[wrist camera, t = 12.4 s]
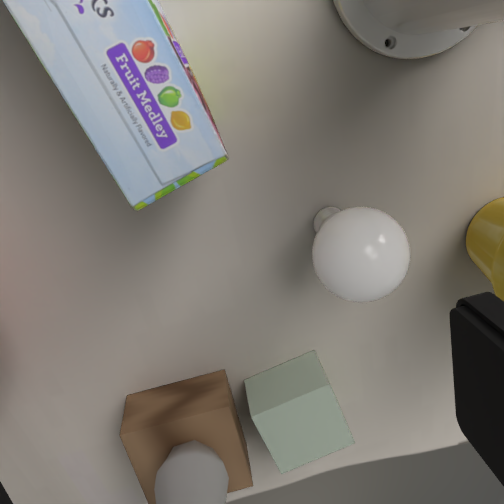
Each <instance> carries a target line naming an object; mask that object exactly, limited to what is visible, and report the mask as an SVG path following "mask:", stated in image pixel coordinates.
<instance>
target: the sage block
mask: <svg viewBox="0 0 504 504" xmlns="http://www.w3.org/2000/svg"><path fill="white" fill-rule="evenodd" d="M244 382H245V387H246V393H247V398H248V404H249V409H250V414H251V418H252V420H253V422H254V424H255V426H256V427H257V429H258V431H259V433H260V435H261V437H262V439H263V441H264V442H265V444H266V446H267V448H268V450H269V452H270V454H271V456H272V457H273V459H274V461H275V463H276V465H277V467H278V469H279V471H280V472H281V474H283V473H285V472H288V471H290V470H293V469H295V468H297V467H300V466H302V465H304V464H307V463H309V462H312V461H314V460H316V459H319V458H321V457H323V456H326V455H328V454H330V453H333V452H335V451H338V450H340V449H342V448H345V447H347V446H349V445H352V444H354V443H355V441H354V439H353V437H352V434H351V432H350V430H349V427H348V425H347V423H346V420H345V418H344V416H343V413H342V411H341V409H340V406H339V404H338V402H337V399H336V397H335V395H334V392H333V390H332V388H331V385H330V383H329V381H328V379H327V377H326V374H325V372H324V370H323V368H322V366H321V364H320V361H319V359H318V357H317V355H316V353H315V351H314V350H313V351H311V352H308V353H306V354H304V355H301V356H299V357H297V358H294V359H292V360H290V361H287V362H285V363H283V364H280V365H278V366H276V367H273V368H271V369H269V370H266V371H264V372H262V373H259V374H257V375H255V376H252V377H250V378H248V379H245V380H244Z"/></svg>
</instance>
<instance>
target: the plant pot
mask: <svg viewBox="0 0 504 504" xmlns="http://www.w3.org/2000/svg"><path fill="white" fill-rule="evenodd" d="M466 248H467V252H468V254H469V256H470V258H471V259H472V261H473V262H474V263H475V264H476V265H477V266H478V268H479V269H480V270H481V271H482V272H483V273H484V275H485V276H486V277H487V278H488V279H489V280H490V282H491V283H492V285H493V289H494V292H495V295H496V296H497V297H498V298H500V299H501V300H502V301H504V197H502V198H499V199H496V200H493V201H492V202H490V203H488V204H487V205H485V206H484V207H483V208H482V209H480V210H479V211H478V213H477V214H476V215H475V216H474V218H473V219H472V221H471V223H470V225H469V227H468V230H467V235H466Z"/></svg>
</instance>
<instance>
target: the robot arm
mask: <svg viewBox="0 0 504 504" xmlns="http://www.w3.org/2000/svg"><path fill="white" fill-rule="evenodd" d="M333 2H334V5H335V7H336V9H337V11H338V13H339V15H340V17H341V20H342V21H343V23H344V24H345V25H346V27H347V28H348V29H349V31H350V32H351V34H352V35H353V36H354V37H356V38H357V39H358V40H359V41H360V42H361V43H362V44H363V45H364V46H366V47H368V48H370V49H371V50H373V51H375V52H377V53H379V54H382V55H385V56H388V57H391V58H400V59H415V58H424V57H428V56H432V55H436V54H439V53H441V52H443V51H445V50H447V49H449V48H452V47H453V46H455V45H456V44H457V43H459V42H460V41H462V40H463V39H465V38H466V37H467V36H468V35H469V34H470V33H471V32H472V31H473V30H474V29H475V28H476V27H477V26H478V25H481V24H487V23H493V22H499V21H504V0H333ZM386 39H387V40H388V42H389V45H388V46H387V47H386V46H385V40H386ZM450 330H451V345H452V360H453V376H454V391H455V406H456V417H457V421H458V424H459V426H460V428H461V430H462V432H463V434H464V435H465V437H466V438H467V439H468V440H469V442H470V443H471V444H472V446H473V447H474V448H475V449H476V451H477V452H478V453H479V455H480V456H481V457H482V459H483V460H484V461H485V463H486V464H487V465H488V467H489V468H490V469H491V470H492V472H493V473H494V474H495V476H496V477H497V478H498V480H499V481H500V482H501V483H502V485H503V486H504V301H502V300H501V299H500V298H498V297H497V296H496V295H494V294H492V293H490V292H485V293H481V294H477V295H473V296H470V297H466V298H462V299H460V300H458V302H457V305H456V308H454V309H452V310H451V311H450ZM0 504H13V503H12V501H11V499H10V498H9V496H8V494H7V492H6V491H5V489H4V487H3V485H2V484H1V482H0Z"/></svg>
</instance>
